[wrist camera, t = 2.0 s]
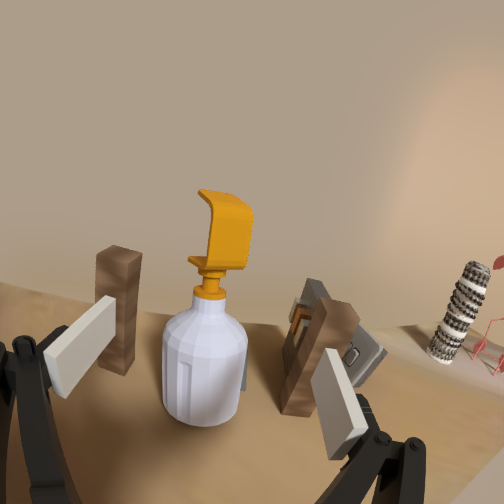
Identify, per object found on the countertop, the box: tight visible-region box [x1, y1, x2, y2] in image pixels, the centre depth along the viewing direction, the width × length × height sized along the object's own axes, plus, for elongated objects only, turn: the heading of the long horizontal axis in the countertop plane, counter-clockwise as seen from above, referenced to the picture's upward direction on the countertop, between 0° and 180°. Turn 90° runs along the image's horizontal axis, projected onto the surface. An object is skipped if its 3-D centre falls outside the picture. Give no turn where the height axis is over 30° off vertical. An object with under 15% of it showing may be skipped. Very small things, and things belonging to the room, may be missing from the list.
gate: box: [95, 245, 360, 417], centre depth 31 cm, size 29×4×16 cm, turn 88°
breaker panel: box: [282, 278, 332, 379], centre depth 40 cm, size 4×12×14 cm, turn 178°
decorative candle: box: [426, 261, 491, 364], centre depth 51 cm, size 9×9×25 cm
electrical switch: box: [341, 323, 388, 388], centre depth 42 cm, size 9×5×9 cm, turn 12°
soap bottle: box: [162, 189, 253, 427], centre depth 28 cm, size 9×9×25 cm
